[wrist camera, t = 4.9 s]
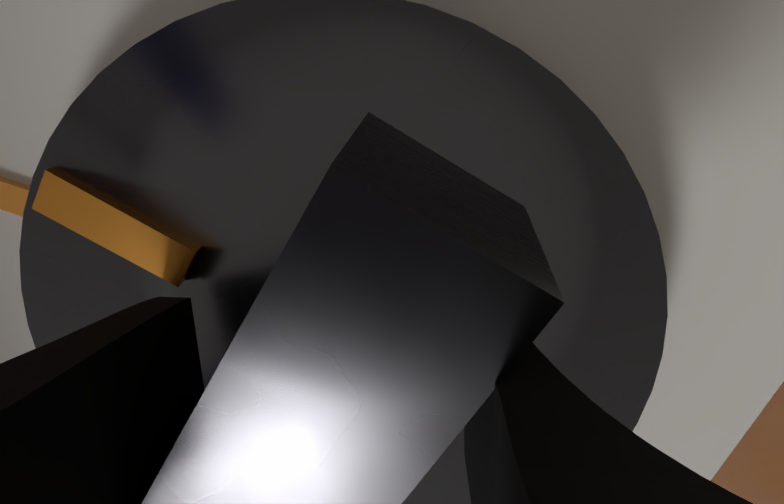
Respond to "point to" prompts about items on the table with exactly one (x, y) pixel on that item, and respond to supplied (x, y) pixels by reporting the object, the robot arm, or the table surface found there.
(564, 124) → the dial
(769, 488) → the table surface
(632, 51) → the dial panel
